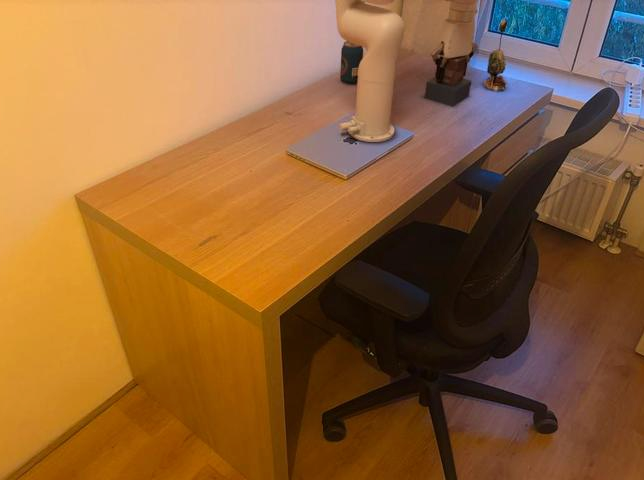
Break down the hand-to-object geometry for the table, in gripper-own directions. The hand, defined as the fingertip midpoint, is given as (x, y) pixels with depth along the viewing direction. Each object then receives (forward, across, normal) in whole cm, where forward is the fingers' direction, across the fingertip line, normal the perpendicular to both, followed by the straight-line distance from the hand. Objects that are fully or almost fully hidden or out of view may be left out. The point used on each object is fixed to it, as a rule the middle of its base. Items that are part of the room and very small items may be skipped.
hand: (450, 76), depth 163 cm
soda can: (+7, +21, -24) cm, 32 cm away
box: (+2, 0, 0) cm, 2 cm away
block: (+6, 0, 0) cm, 6 cm away
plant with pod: (+7, -19, 0) cm, 20 cm away
